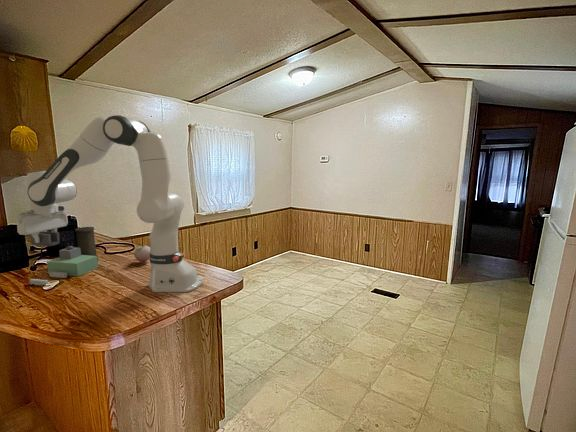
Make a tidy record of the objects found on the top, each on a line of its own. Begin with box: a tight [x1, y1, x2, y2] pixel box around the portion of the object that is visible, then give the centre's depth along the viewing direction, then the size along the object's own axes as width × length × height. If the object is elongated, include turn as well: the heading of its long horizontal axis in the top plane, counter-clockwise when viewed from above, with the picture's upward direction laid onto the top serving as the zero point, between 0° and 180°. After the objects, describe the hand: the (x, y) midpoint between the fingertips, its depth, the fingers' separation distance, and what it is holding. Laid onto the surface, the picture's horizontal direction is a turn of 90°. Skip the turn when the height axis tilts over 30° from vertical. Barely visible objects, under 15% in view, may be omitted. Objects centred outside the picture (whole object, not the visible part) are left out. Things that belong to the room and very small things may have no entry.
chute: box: [29, 230, 61, 247], centre depth 135 cm, size 5×9×5 cm, turn 80°
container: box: [74, 226, 99, 261], centre depth 162 cm, size 9×9×18 cm
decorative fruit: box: [133, 243, 151, 263], centre depth 162 cm, size 9×8×10 cm
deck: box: [29, 245, 99, 286], centre depth 143 cm, size 16×24×11 cm, turn 170°
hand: (45, 240), depth 135 cm, fingers closed on chute, 5 cm apart
